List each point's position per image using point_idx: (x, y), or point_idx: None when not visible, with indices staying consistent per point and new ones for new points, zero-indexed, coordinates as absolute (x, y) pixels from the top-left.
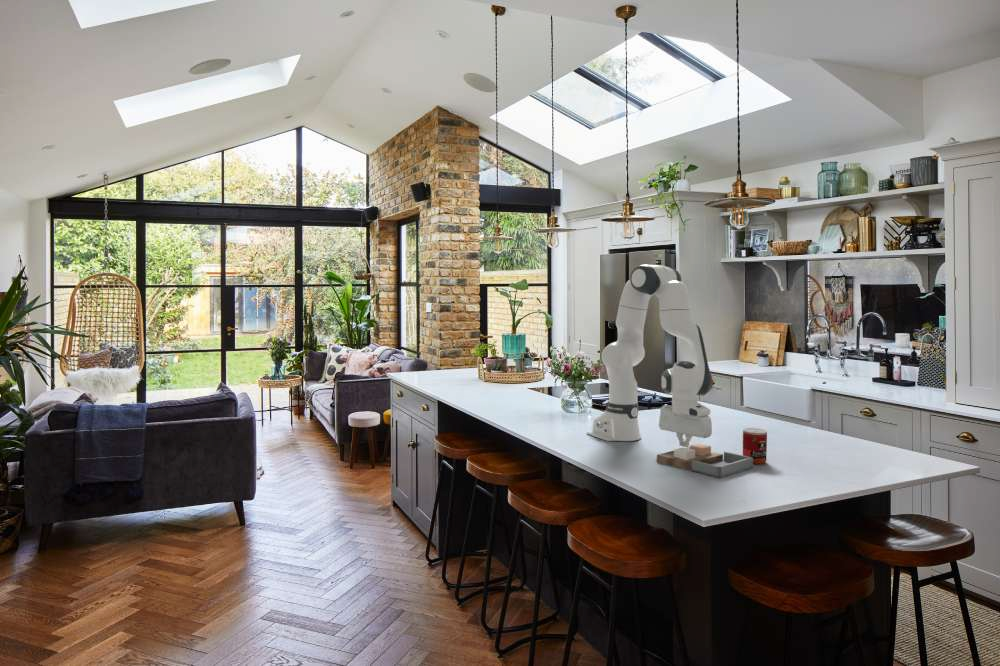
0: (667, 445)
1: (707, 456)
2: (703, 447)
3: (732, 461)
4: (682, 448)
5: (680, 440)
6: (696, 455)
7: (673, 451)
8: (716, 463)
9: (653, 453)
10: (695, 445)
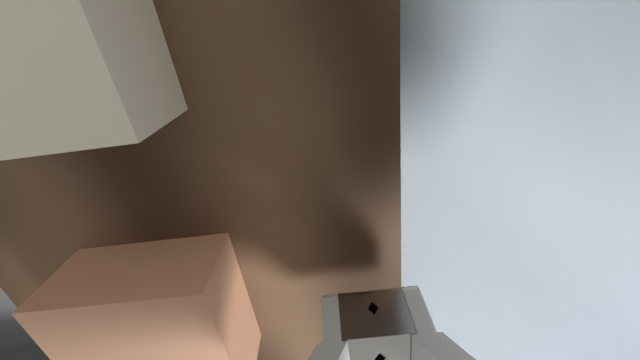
0: (627, 336)
1: (32, 263)
2: (58, 346)
3: (24, 350)
4: (60, 72)
5: (418, 340)
6: (99, 209)
7: (371, 125)
8: None
9: (627, 79)
10: (184, 342)
